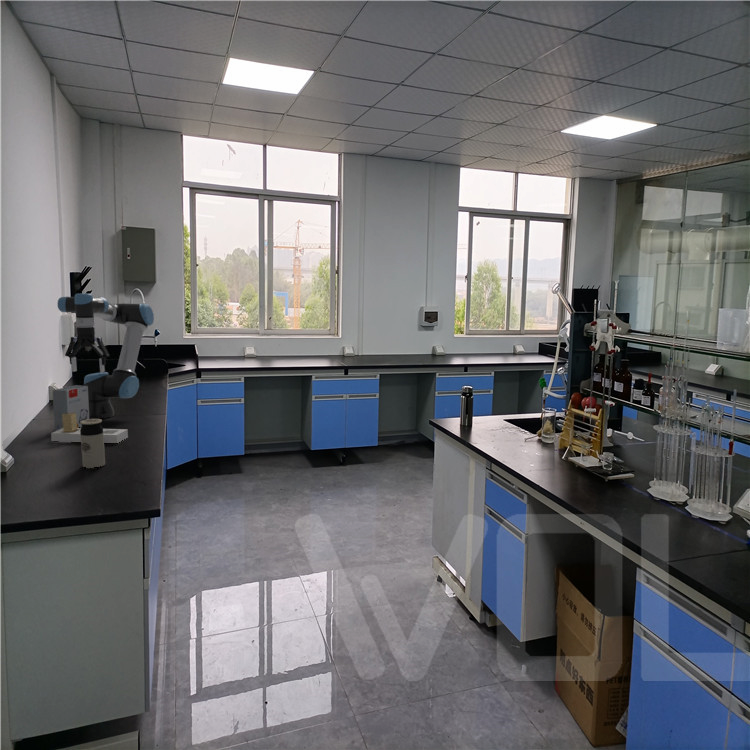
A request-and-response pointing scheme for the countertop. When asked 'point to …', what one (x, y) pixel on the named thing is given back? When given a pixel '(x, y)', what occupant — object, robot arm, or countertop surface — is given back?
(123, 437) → the white compartment tray
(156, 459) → the countertop surface
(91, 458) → the travel mug
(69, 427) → the wooden block
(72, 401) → the hard drive box
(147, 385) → the countertop surface
